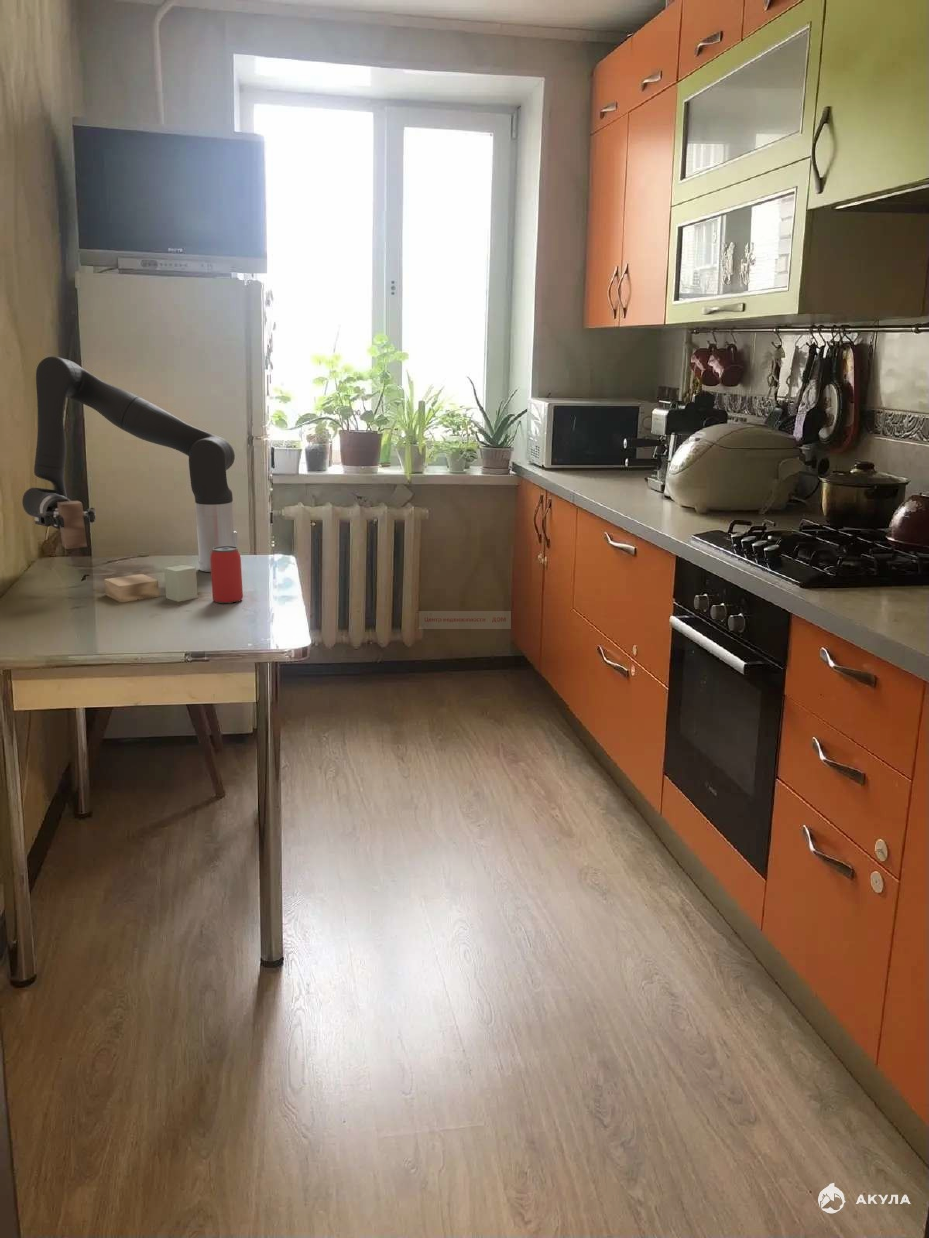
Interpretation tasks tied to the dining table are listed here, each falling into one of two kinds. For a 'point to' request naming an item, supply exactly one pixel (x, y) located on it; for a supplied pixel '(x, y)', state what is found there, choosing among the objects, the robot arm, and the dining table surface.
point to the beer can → (226, 574)
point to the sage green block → (180, 582)
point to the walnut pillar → (72, 524)
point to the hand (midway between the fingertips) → (74, 521)
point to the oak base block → (131, 587)
